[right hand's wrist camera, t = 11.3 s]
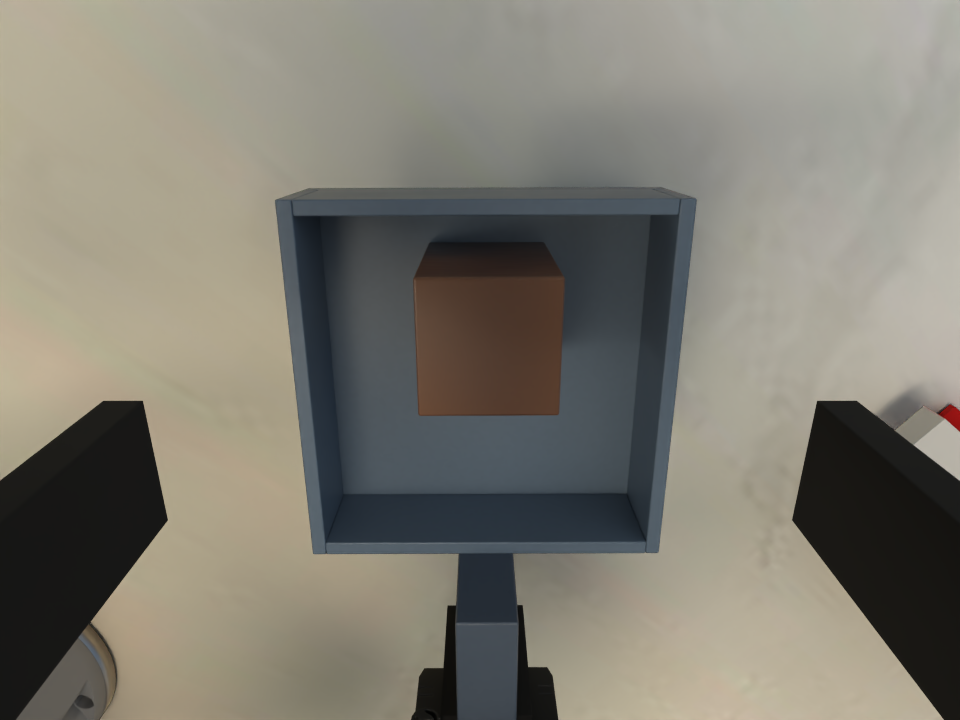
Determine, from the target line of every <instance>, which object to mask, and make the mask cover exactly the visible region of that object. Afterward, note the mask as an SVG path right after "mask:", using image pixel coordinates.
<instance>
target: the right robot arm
mask: <svg viewBox="0 0 960 720" xmlns="http://www.w3.org/2000/svg"><path fill="white" fill-rule="evenodd" d="M167 521H168V519H167V514H166V509H165V504H164V500H163V495H162V490H161V485H160V481H159V476H158V471H157V466H156V462H155V457H154V452H153V447H152V442H151V438H150V433H149V428H148V423H147V419H146V414H145V409H144V404H143V401H103V402H101V403H100V404H99V405H98V406H96V407H95V408H94V409H92V410H91V411H90V412H88V413H87V414H86V415H85V416H83V417H82V418H81V419H79V420H78V421H77V422H76V423H74V424H73V425H72V426H70V427H69V428H68V429H67V430H65V431H64V432H63V433H61V434H60V435H59V436H57V437H56V438H55V439H54V440H52V441H51V442H50V443H48V444H47V445H46V446H45V447H43V448H42V449H41V450H39V451H38V452H37V453H35V454H34V455H33V456H32V457H30V458H29V459H28V460H26V461H25V462H24V463H23V464H21V465H20V466H19V467H17V468H16V469H15V470H13V471H12V472H11V473H10V474H8V475H7V476H6V477H4V478H3V479H2V480H1V481H0V720H16V719H17V718H18V716H19V715H20V714H21V712H22V711H23V710H24V708H25V707H26V706H27V705H28V703H29V702H30V701H31V699H32V698H33V697H34V695H35V694H36V693H37V691H38V690H39V689H40V687H41V686H42V685H43V683H44V682H45V681H46V680H47V678H48V677H49V676H50V674H51V673H52V672H53V670H54V669H55V668H56V666H57V665H58V664H59V662H60V661H61V660H62V659H63V657H64V656H65V655H66V653H67V652H68V651H69V649H70V648H71V647H72V645H73V644H74V643H75V641H76V640H77V639H78V637H79V636H80V635H81V634H82V632H83V631H84V630H85V628H86V627H87V626H88V624H89V623H90V622H91V620H92V619H93V618H94V616H95V615H96V614H97V613H98V611H99V610H100V609H101V607H102V606H103V605H104V603H105V602H106V601H107V599H108V598H109V597H110V595H111V594H112V593H113V591H114V590H115V589H116V588H117V586H118V585H119V584H120V582H121V581H122V580H123V578H124V577H125V576H126V574H127V573H128V572H129V570H130V569H131V568H132V567H133V565H134V564H135V563H136V561H137V560H138V559H139V557H140V556H141V555H142V553H143V552H144V551H145V549H146V548H147V547H148V545H149V544H150V543H151V542H152V540H153V539H154V538H155V536H156V535H157V534H158V532H159V531H160V530H161V528H162V527H163V526H164V524H165V523H166V522H167ZM792 521H793V522H794V523H795V524H796V526H797V527H798V528H799V530H800V531H801V532H802V534H803V535H804V536H805V538H806V539H807V540H808V542H809V543H810V544H811V545H812V547H813V548H814V549H815V551H816V552H817V553H818V555H819V556H820V557H821V559H822V560H823V561H824V563H825V564H826V565H827V567H828V568H829V569H830V570H831V572H832V573H833V574H834V576H835V577H836V578H837V580H838V581H839V582H840V584H841V585H842V586H843V588H844V589H845V590H846V591H847V593H848V594H849V595H850V597H851V598H852V599H853V601H854V602H855V603H856V605H857V606H858V607H859V609H860V610H861V611H862V613H863V614H864V615H865V616H866V618H867V619H868V620H869V622H870V623H871V624H872V626H873V627H874V628H875V630H876V631H877V632H878V634H879V635H880V636H881V637H882V639H883V640H884V641H885V643H886V644H887V645H888V647H889V648H890V649H891V651H892V652H893V653H894V655H895V656H896V657H897V659H898V660H899V661H900V662H901V664H902V665H903V666H904V668H905V669H906V670H907V672H908V673H909V674H910V676H911V677H912V678H913V680H914V681H915V682H916V683H917V685H918V686H919V687H920V689H921V690H922V691H923V693H924V694H925V695H926V697H927V698H928V699H929V701H930V702H931V703H932V705H933V706H934V707H935V708H936V710H937V711H938V712H939V714H940V715H941V716H942V718H943V719H944V720H960V481H959V480H958V479H957V478H956V477H954V476H953V475H952V474H950V473H949V472H948V471H947V470H945V469H944V468H943V467H941V466H940V465H939V464H937V463H936V462H935V461H934V460H932V459H931V458H930V457H928V456H927V455H926V454H925V453H923V452H922V451H921V450H919V449H918V448H917V447H915V446H914V445H913V444H912V443H910V442H909V441H908V440H906V439H905V438H904V437H903V436H901V435H900V434H899V433H897V432H896V431H895V430H893V429H892V428H891V427H890V426H888V425H887V424H886V423H884V422H883V421H882V420H881V419H879V418H878V417H877V416H875V415H874V414H873V413H871V412H870V411H869V410H868V409H866V408H865V407H864V406H862V405H861V404H860V403H859V402H857V401H817V404H816V409H815V414H814V419H813V423H812V428H811V433H810V438H809V442H808V447H807V452H806V457H805V462H804V466H803V471H802V476H801V481H800V485H799V490H798V495H797V500H796V504H795V509H794V514H793V519H792Z"/></svg>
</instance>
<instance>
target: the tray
mask: <svg viewBox="0 0 960 720" xmlns="http://www.w3.org/2000/svg"><path fill="white" fill-rule="evenodd" d="M696 202H697V200H696V198H693V197H690V196H686V195H683V194H680V193H677V192H674V191H671V190H668V189H665V188H662V187H574V188H308V189H305V190H303V191H300V192H297V193H294V194H291V195H288V196H285V197H282V198H279V199H277V200H275V205H276V214H277V223H278V232H279V242H280V251H281V260H282V269H283V279H284V288H285V297H286V307H287V316H288V325H289V334H290V344H291V353H292V362H293V371H294V381H295V390H296V399H297V409H298V418H299V427H300V436H301V446H302V455H303V464H304V473H305V483H306V492H307V501H308V510H309V520H310V529H311V538H312V548H313V554H326V553H327V554H459V558H458V578H457V599H456V619H455V634H456V685H457V720H516V718H517V672H518V626H519V623H518V610H517V598H516V585H515V572H514V560H513V553H645V552H646V553H658V552H659V544H660V534H661V525H662V516H663V507H664V497H665V488H666V479H667V470H668V460H669V451H670V442H671V433H672V423H673V414H674V405H675V396H676V387H677V377H678V368H679V359H680V350H681V340H682V331H683V322H684V313H685V303H686V294H687V285H688V276H689V267H690V257H691V248H692V239H693V230H694V220H695V211H696ZM440 242H544V243H545V245H546V246H547V248H548V250H549V251H550V253H551V255H552V257H553V258H554V260H555V262H556V264H557V265H558V267H559V269H560V271H561V272H562V274H563V276H564V278H565V292H564V316H563V340H562V364H561V387H560V411H559V415H521V416H420V415H419V414H418V396H417V371H416V345H415V320H414V294H413V278H414V276H415V274H416V271H417V269H418V267H419V265H420V262H421V260H422V258H423V256H424V253H425V251H426V249H427V247H428V244H429V243H440Z"/></svg>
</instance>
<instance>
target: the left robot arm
mask: <svg viewBox="0 0 960 720" xmlns="http://www.w3.org/2000/svg"><path fill="white" fill-rule="evenodd" d="M517 610H518V623H519V626H518V672H517V718H516V720H558V714H557V706H556V699H555V691H554V683H553V676H552V674H551V673H550V671H549V669H548V668H547V667H528V661H527V650H526V638H525V627H524V615H523V605H517ZM455 619H456V606H448V608H447V624H446V639H445V655H444V668H424V670H423V671H422V673H421V675H420V676H419V683H418V693H417V702H416V711H415V713H414V714H413V716H412V718H411V720H457V685H456V634H455ZM115 685H116V674H115V667H114V664H113V660H112V658H111V655H110V653H109V651H108V649H107V647H106V645H105V644H104V642H103V641H102V639H101V638H100V637H99V635H98V634H97V633H96V632H95V631H94V630H93V629H92V627H91V626H90V625H89V624H88V626H87V627H86V628H85V630H84V631H83V632H82V634H81V635H80V636H79V637H78V639H77V640H76V641H75V643H74V644H73V645H72V647H71V648H70V649H69V651H68V652H67V653H66V655H65V656H64V657H63V659H62V660H61V661H60V662H59V664H58V665H57V666H56V668H55V669H54V670H53V672H52V673H51V674H50V676H49V677H48V678H47V680H46V681H45V682H44V683H43V685H42V686H41V687H40V689H39V690H38V691H37V693H36V694H35V695H34V697H33V698H32V699H31V701H30V702H29V703H28V705H27V706H26V707H25V708H24V710H23V711H22V712H21V714H20V715H19V716H18V718H17V719H16V720H100V718H101V717H102V715H103V713H104V712H105V710H106V709H107V707H108V705H109V704H110V702H111V700H112V698H113V695H114V691H115Z"/></svg>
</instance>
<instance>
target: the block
mask: <svg viewBox="0 0 960 720" xmlns="http://www.w3.org/2000/svg"><path fill="white" fill-rule="evenodd" d="M564 292H565V278H564V276H563V274H562V272H561V271H560V269H559V267H558V265H557V264H556V262H555V260H554V258H553V257H552V255H551V253H550V251H549V250H548V248H547V246H546V245H545V243H544V242H440V243H429V244H428V247H427V249H426V251H425V253H424V256H423V258H422V260H421V262H420V265H419V267H418V269H417V271H416V274H415V276H414V278H413V294H414V320H415V345H416V371H417V396H418V414H419V415H420V416H521V415H559V411H560V387H561V364H562V340H563V316H564Z"/></svg>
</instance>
